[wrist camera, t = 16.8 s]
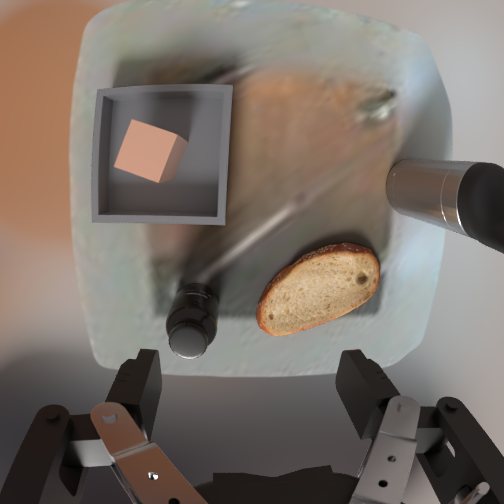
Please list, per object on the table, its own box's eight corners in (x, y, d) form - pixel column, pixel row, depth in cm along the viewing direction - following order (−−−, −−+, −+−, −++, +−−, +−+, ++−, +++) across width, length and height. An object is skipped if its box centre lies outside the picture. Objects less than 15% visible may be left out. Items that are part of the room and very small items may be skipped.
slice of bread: (249, 327, 49) (251, 339, 46) (284, 221, 45) (290, 225, 42) (345, 346, 52) (352, 357, 49) (384, 252, 48) (395, 259, 45)
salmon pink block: (152, 129, 39) (131, 119, 29) (188, 142, 40) (177, 134, 30) (137, 166, 40) (113, 166, 30) (173, 179, 41) (158, 182, 31)
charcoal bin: (231, 94, 39) (232, 84, 35) (224, 218, 44) (225, 225, 39) (109, 96, 38) (97, 89, 33) (105, 216, 42) (92, 222, 38)
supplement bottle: (206, 274, 46) (201, 309, 35) (225, 312, 48) (227, 355, 36) (166, 292, 46) (150, 330, 35) (187, 328, 48) (178, 372, 37)
